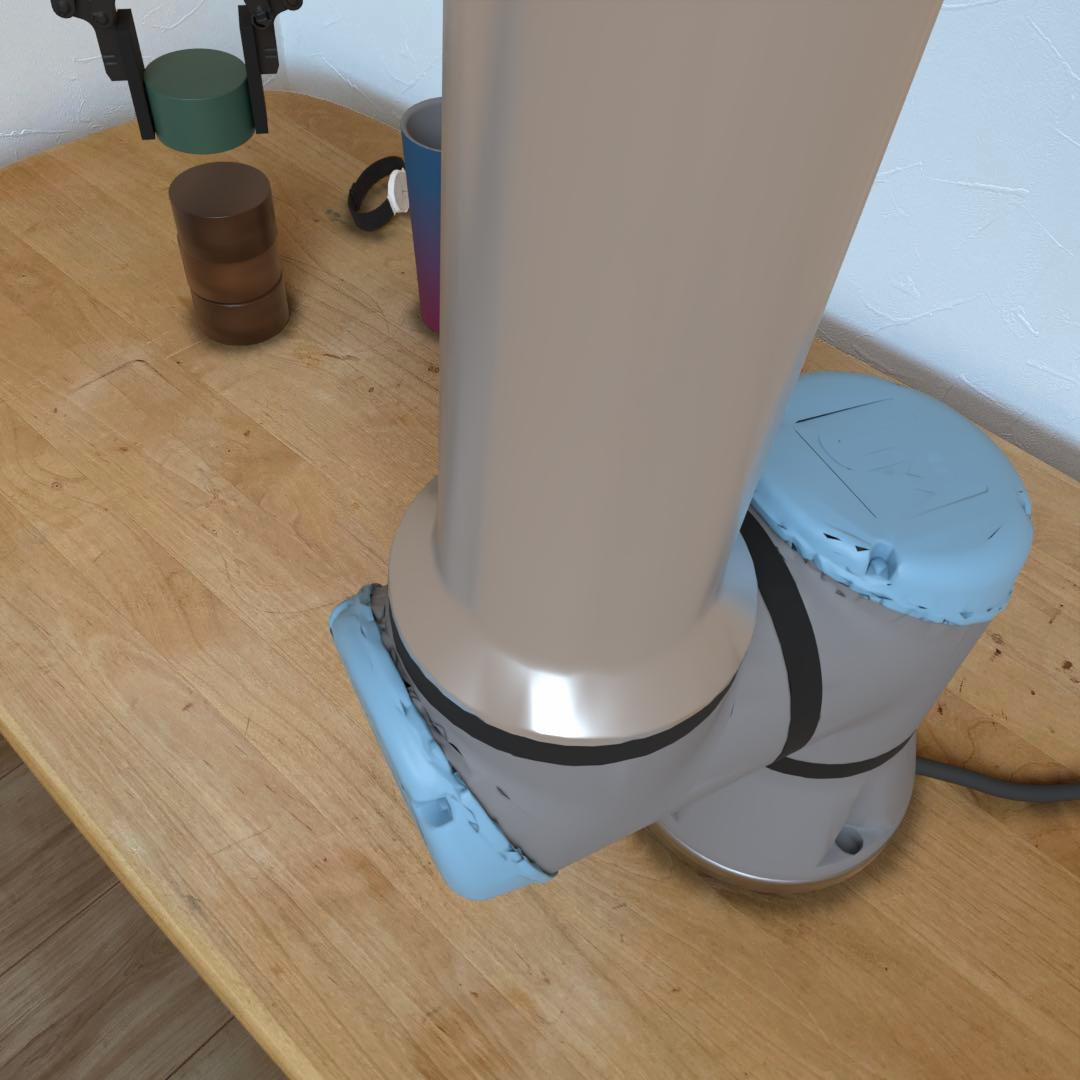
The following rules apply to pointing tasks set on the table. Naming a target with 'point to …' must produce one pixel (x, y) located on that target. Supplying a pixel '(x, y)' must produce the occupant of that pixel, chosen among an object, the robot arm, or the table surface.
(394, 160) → the watch
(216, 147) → the green cylinder
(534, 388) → the robot arm
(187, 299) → the table surface
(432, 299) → the cup
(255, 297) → the brown jar
